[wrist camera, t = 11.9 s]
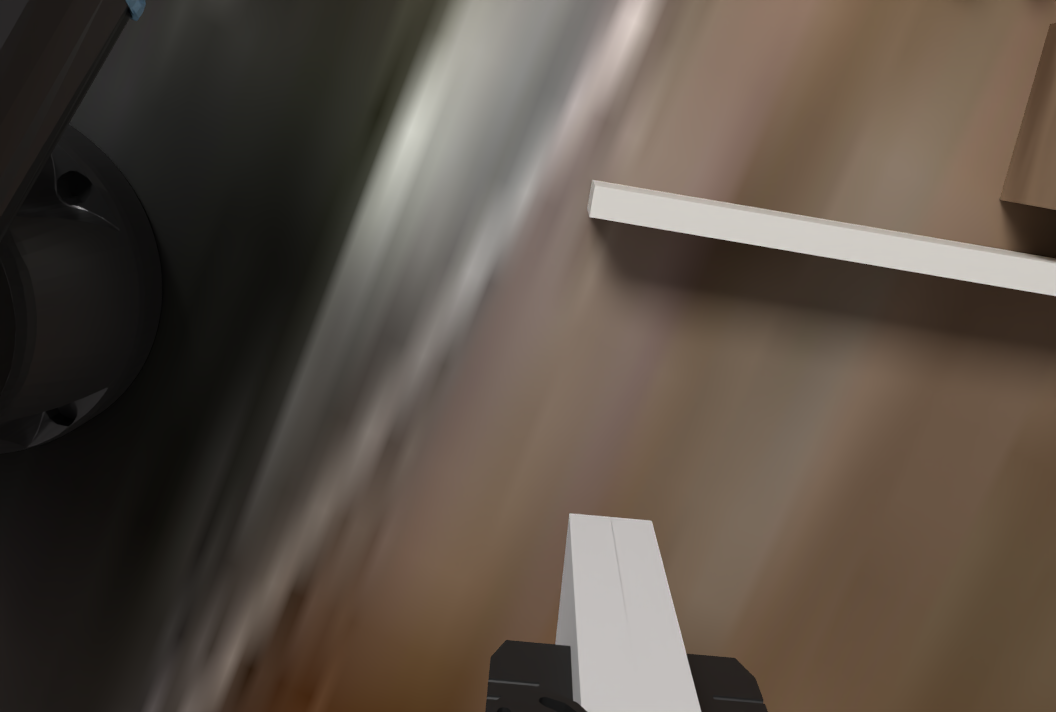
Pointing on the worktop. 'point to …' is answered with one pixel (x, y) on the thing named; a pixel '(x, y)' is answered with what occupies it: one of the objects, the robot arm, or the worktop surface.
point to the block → (1037, 139)
